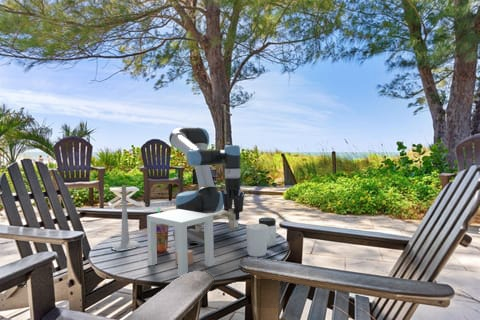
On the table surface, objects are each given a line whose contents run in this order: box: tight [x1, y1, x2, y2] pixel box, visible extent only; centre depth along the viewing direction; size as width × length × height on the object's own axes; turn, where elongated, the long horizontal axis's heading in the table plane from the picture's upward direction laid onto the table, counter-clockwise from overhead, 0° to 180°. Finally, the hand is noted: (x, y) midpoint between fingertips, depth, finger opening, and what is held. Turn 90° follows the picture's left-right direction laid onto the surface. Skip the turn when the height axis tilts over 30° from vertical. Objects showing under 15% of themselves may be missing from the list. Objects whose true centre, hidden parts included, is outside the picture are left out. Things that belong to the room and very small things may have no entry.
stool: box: [146, 208, 215, 277], centre depth 119 cm, size 21×16×20 cm
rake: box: [187, 207, 239, 244], centre depth 136 cm, size 26×12×10 cm, turn 141°
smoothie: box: [156, 207, 170, 254], centre depth 136 cm, size 8×8×20 cm
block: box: [175, 248, 195, 266], centre depth 121 cm, size 5×5×5 cm
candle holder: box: [245, 223, 268, 258], centre depth 131 cm, size 10×10×12 cm
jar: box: [258, 216, 277, 247], centre depth 145 cm, size 9×8×12 cm
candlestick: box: [111, 184, 140, 249], centre depth 143 cm, size 13×13×30 cm
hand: (233, 225), depth 144 cm, fingers closed on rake, 2 cm apart
